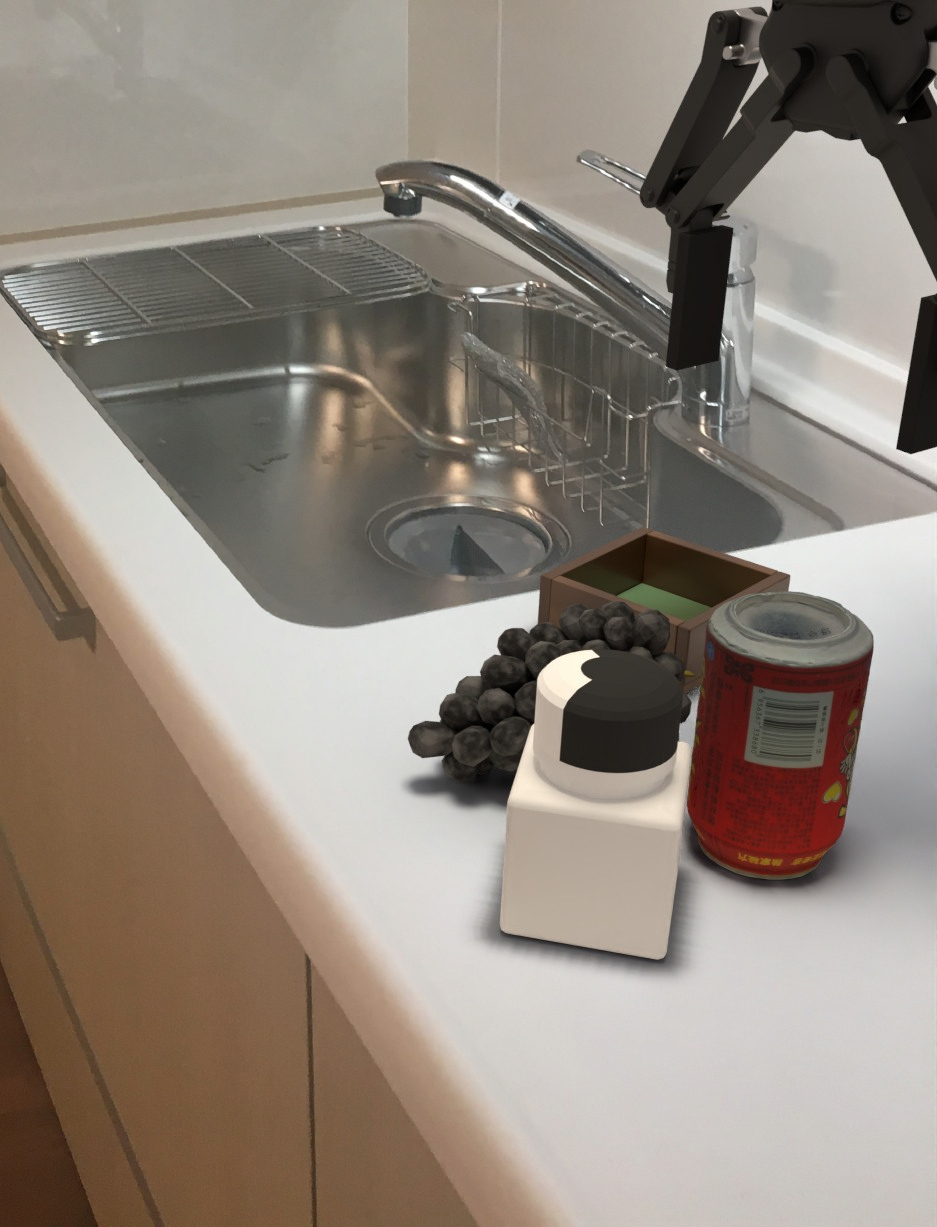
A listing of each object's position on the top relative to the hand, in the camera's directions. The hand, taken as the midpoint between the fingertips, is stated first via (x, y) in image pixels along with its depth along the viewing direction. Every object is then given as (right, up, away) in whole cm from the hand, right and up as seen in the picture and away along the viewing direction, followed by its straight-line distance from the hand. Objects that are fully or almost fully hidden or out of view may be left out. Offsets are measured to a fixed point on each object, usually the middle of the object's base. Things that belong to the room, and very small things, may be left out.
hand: (800, 402), depth 76 cm
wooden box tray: (+1, -11, +23) cm, 26 cm away
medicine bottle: (-10, -23, 0) cm, 25 cm away
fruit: (-9, -17, +11) cm, 23 cm away
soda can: (-1, -21, +4) cm, 21 cm away
